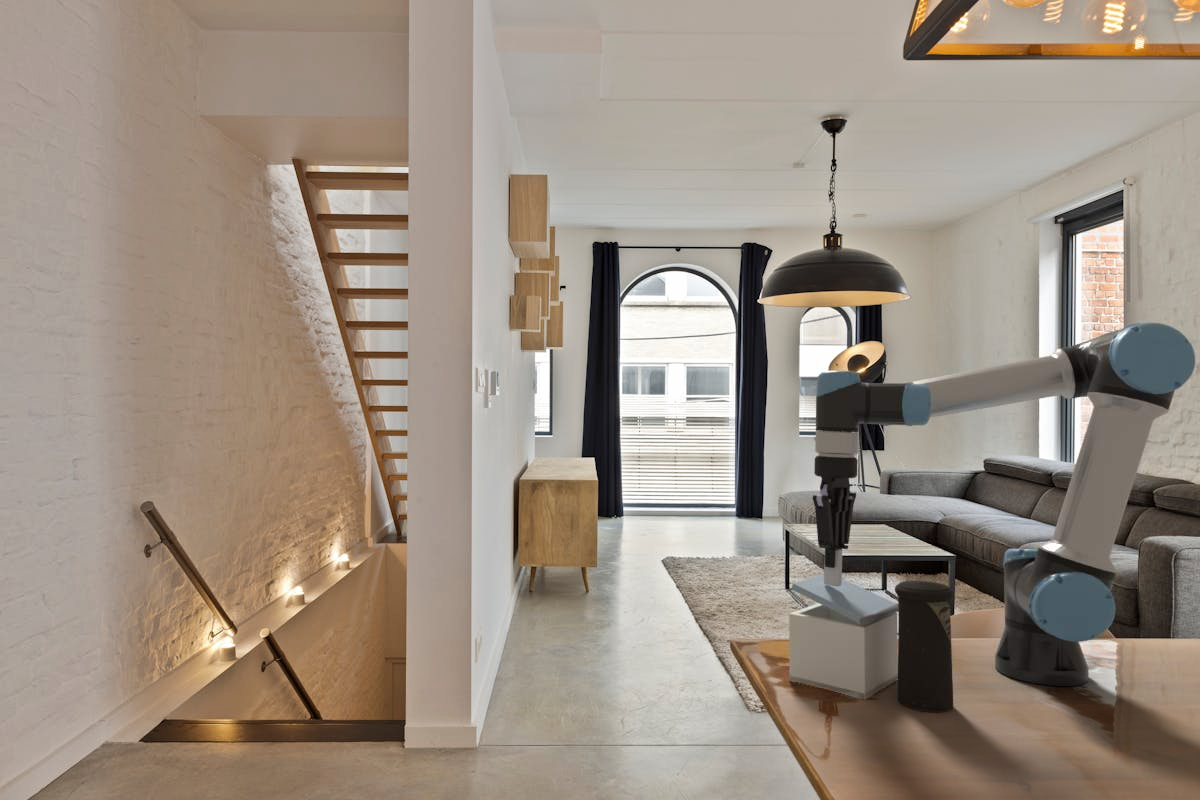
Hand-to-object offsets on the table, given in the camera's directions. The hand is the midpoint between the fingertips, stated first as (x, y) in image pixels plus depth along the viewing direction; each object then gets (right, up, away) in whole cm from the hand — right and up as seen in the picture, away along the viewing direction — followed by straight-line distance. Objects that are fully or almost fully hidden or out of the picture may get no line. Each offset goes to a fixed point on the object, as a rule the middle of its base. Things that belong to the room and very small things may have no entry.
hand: (832, 584), depth 141 cm
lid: (+2, -3, -1) cm, 4 cm away
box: (+1, -17, -2) cm, 17 cm away
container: (+11, -17, -13) cm, 24 cm away
